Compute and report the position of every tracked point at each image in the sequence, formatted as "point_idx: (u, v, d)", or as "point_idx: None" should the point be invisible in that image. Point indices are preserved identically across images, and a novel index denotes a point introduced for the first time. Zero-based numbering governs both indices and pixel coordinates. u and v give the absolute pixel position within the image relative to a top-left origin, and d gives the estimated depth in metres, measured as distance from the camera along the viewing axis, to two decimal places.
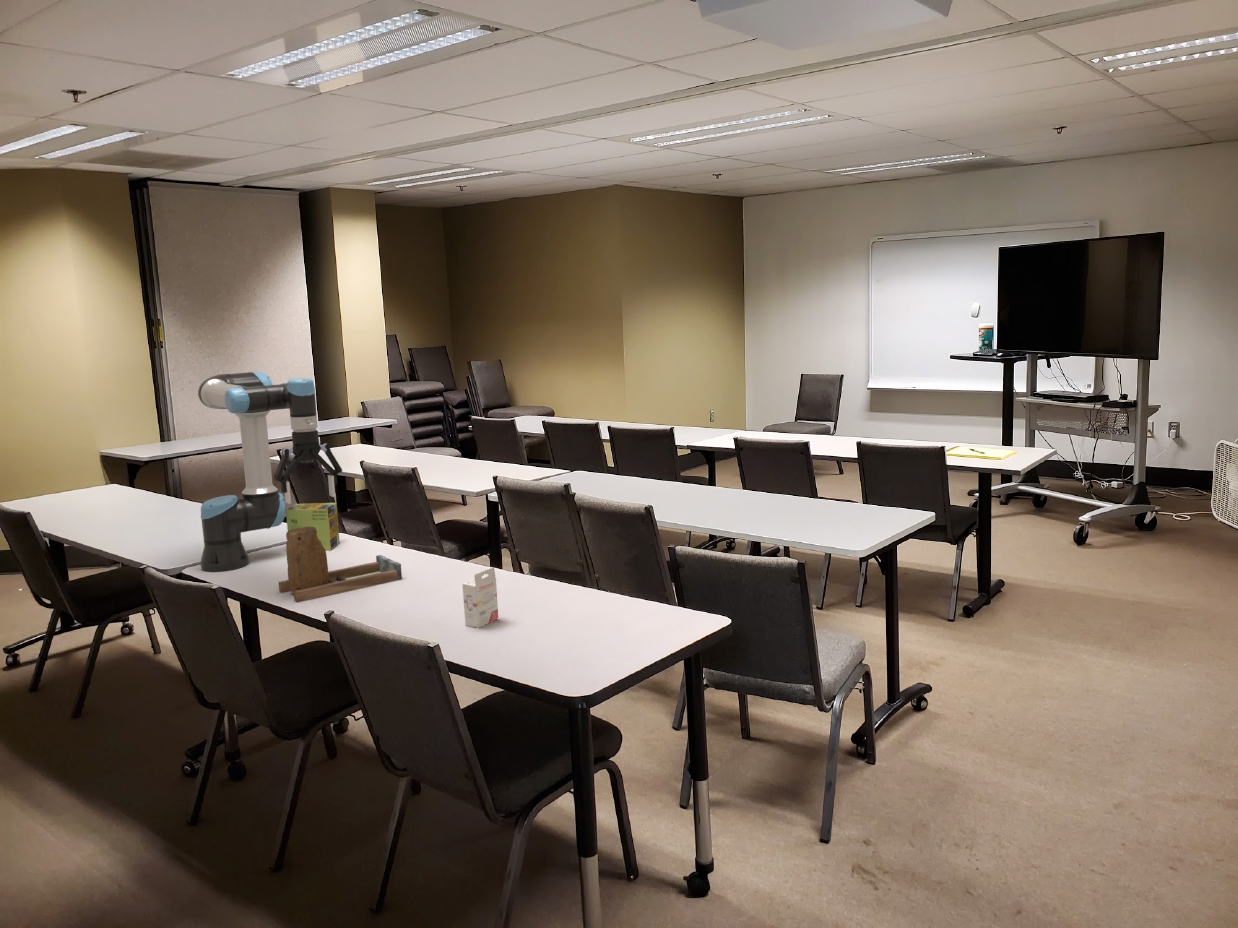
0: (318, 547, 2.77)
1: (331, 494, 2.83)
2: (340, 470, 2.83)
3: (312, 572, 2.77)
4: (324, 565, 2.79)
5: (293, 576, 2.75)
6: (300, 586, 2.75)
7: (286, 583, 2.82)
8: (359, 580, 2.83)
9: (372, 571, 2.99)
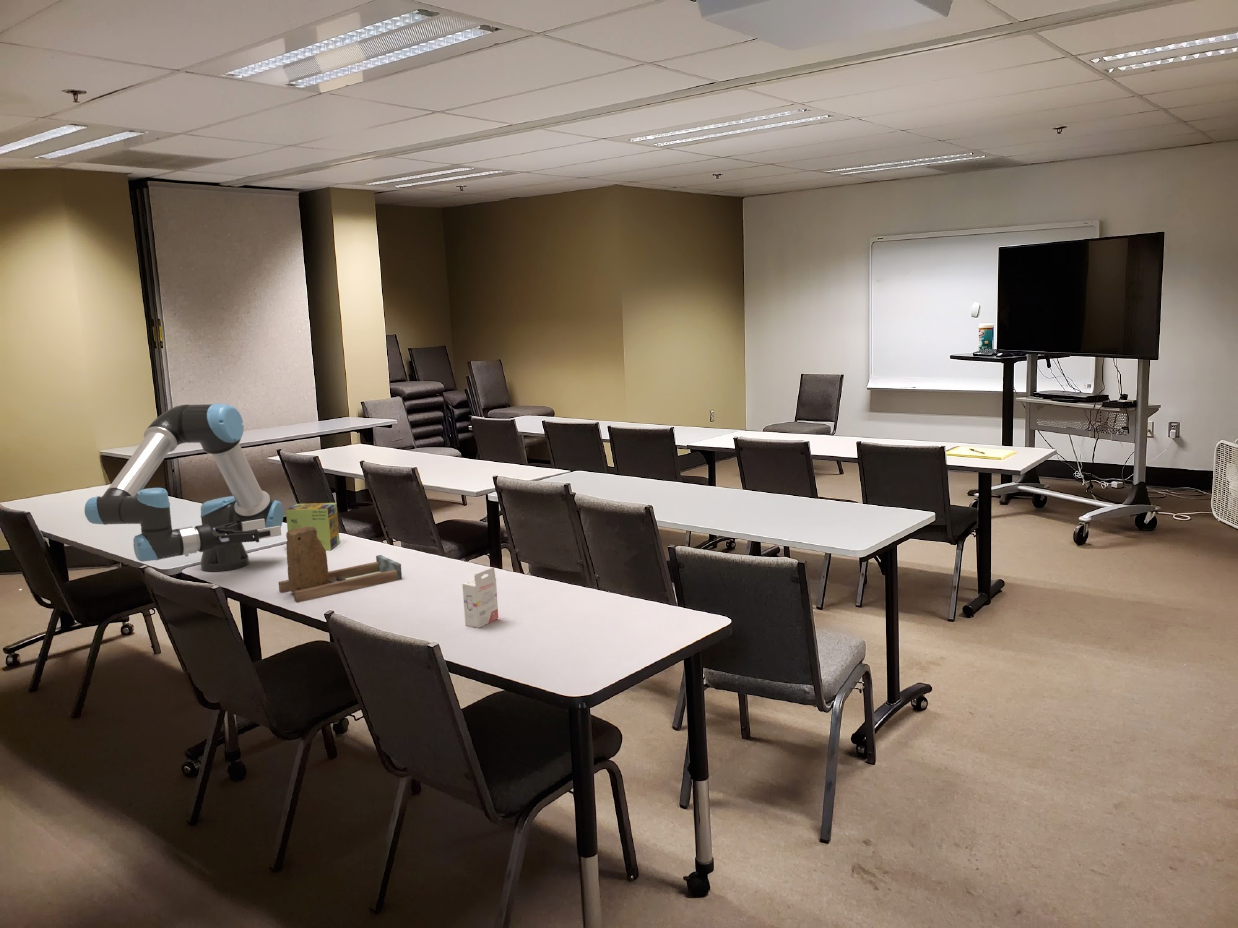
0: (318, 547, 2.77)
1: None
2: None
3: (312, 572, 2.77)
4: (324, 565, 2.79)
5: (293, 576, 2.75)
6: (300, 586, 2.75)
7: (286, 583, 2.82)
8: (359, 580, 2.83)
9: (372, 571, 2.99)
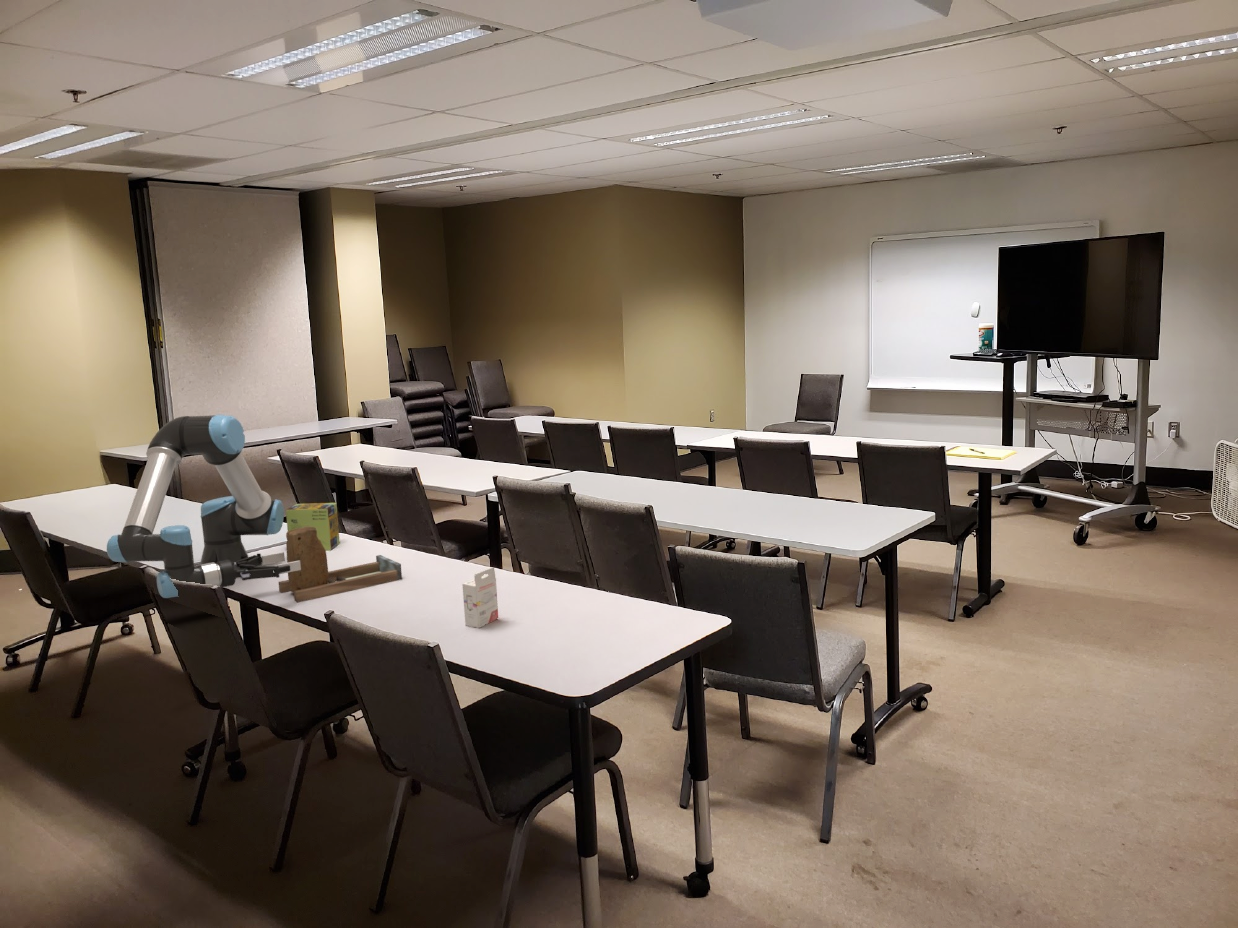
0: (318, 547, 2.77)
1: None
2: None
3: (312, 572, 2.77)
4: (324, 565, 2.79)
5: (293, 576, 2.75)
6: (300, 586, 2.75)
7: (286, 583, 2.82)
8: (359, 580, 2.83)
9: (372, 571, 2.99)
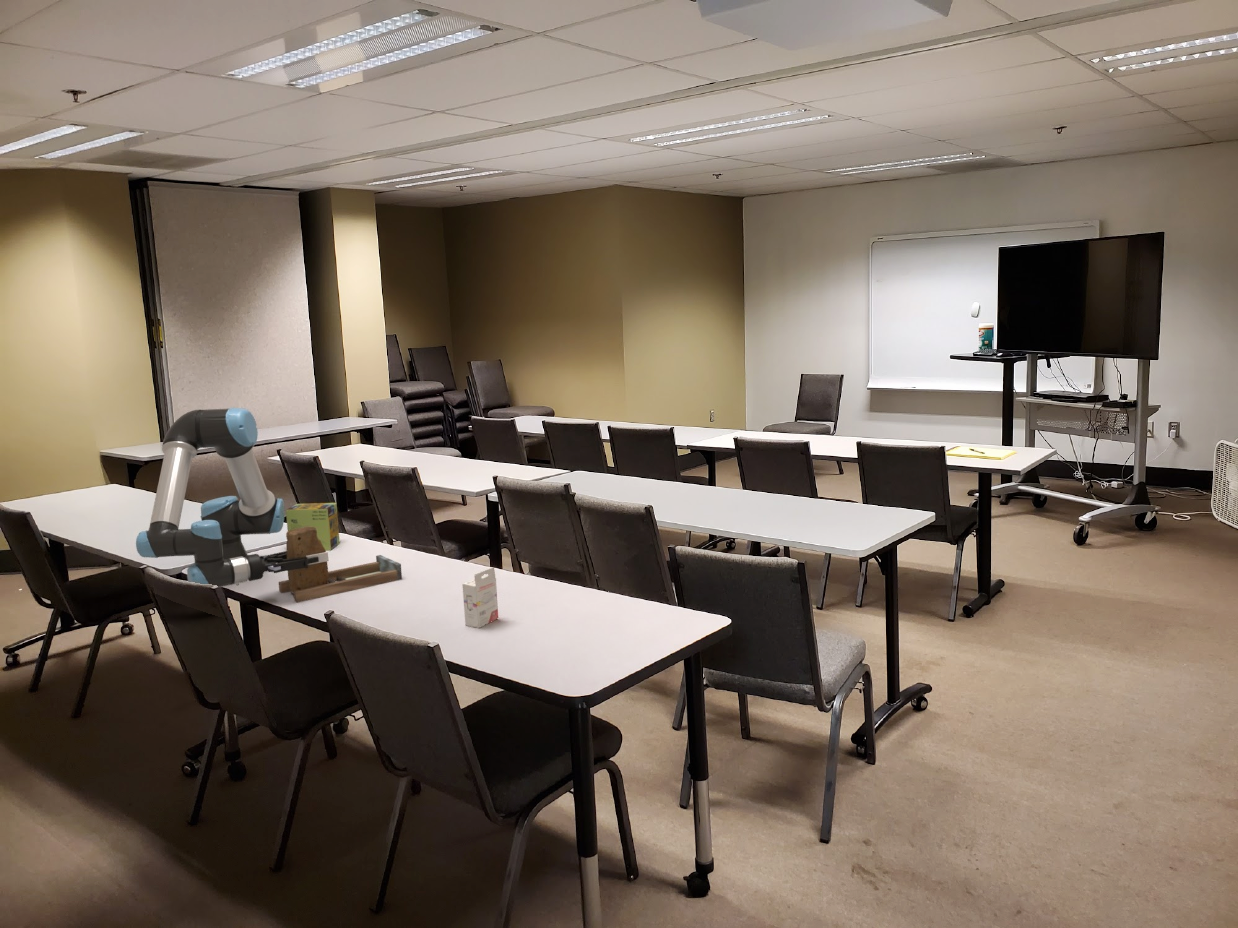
0: (318, 547, 2.77)
1: None
2: None
3: (312, 572, 2.77)
4: (324, 565, 2.79)
5: (293, 576, 2.75)
6: (300, 586, 2.75)
7: (286, 583, 2.82)
8: (359, 580, 2.83)
9: (372, 571, 2.99)
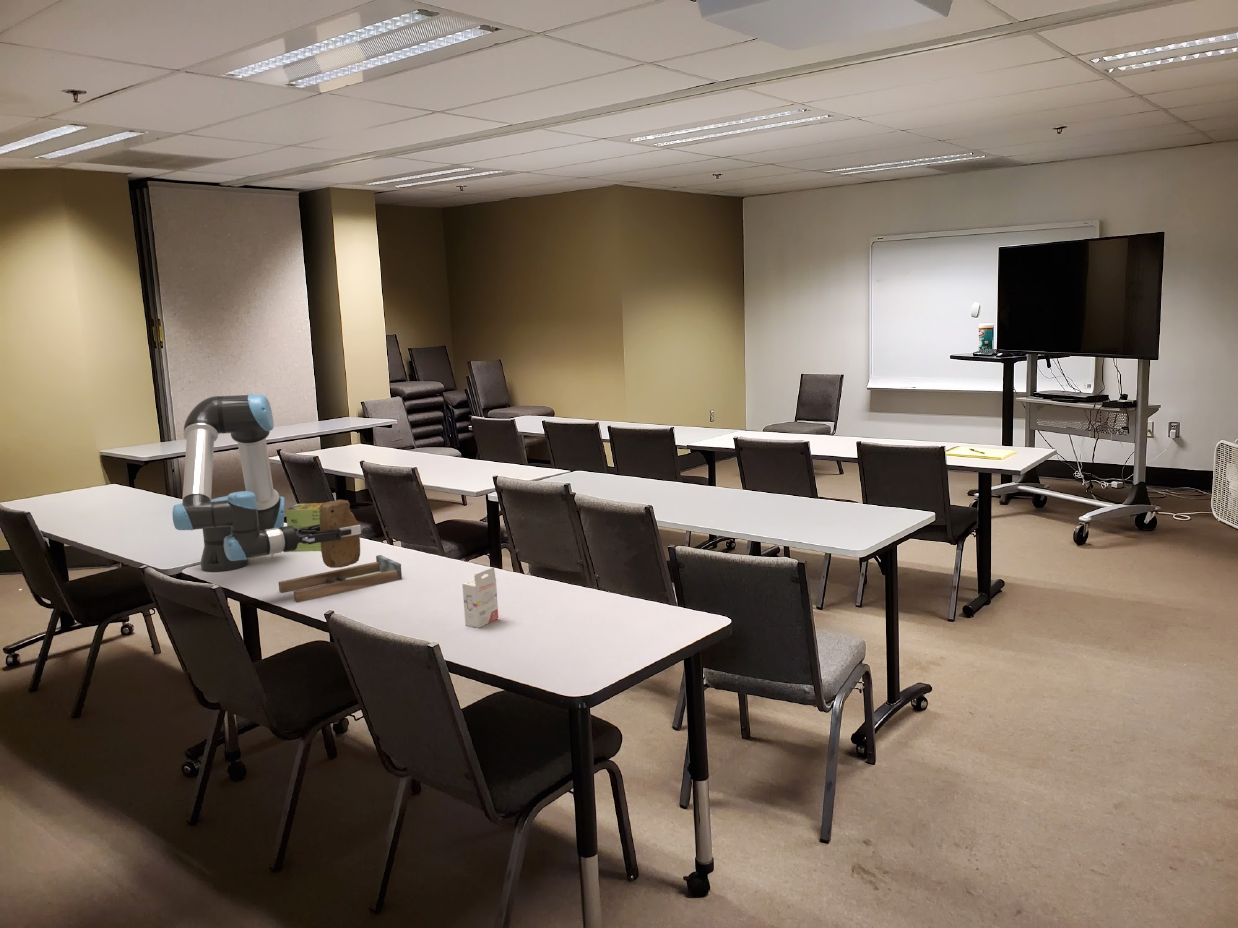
0: (350, 520, 2.82)
1: None
2: None
3: (345, 544, 2.81)
4: (356, 538, 2.84)
5: (326, 548, 2.79)
6: (333, 558, 2.79)
7: (286, 583, 2.82)
8: (359, 580, 2.83)
9: (372, 571, 2.99)
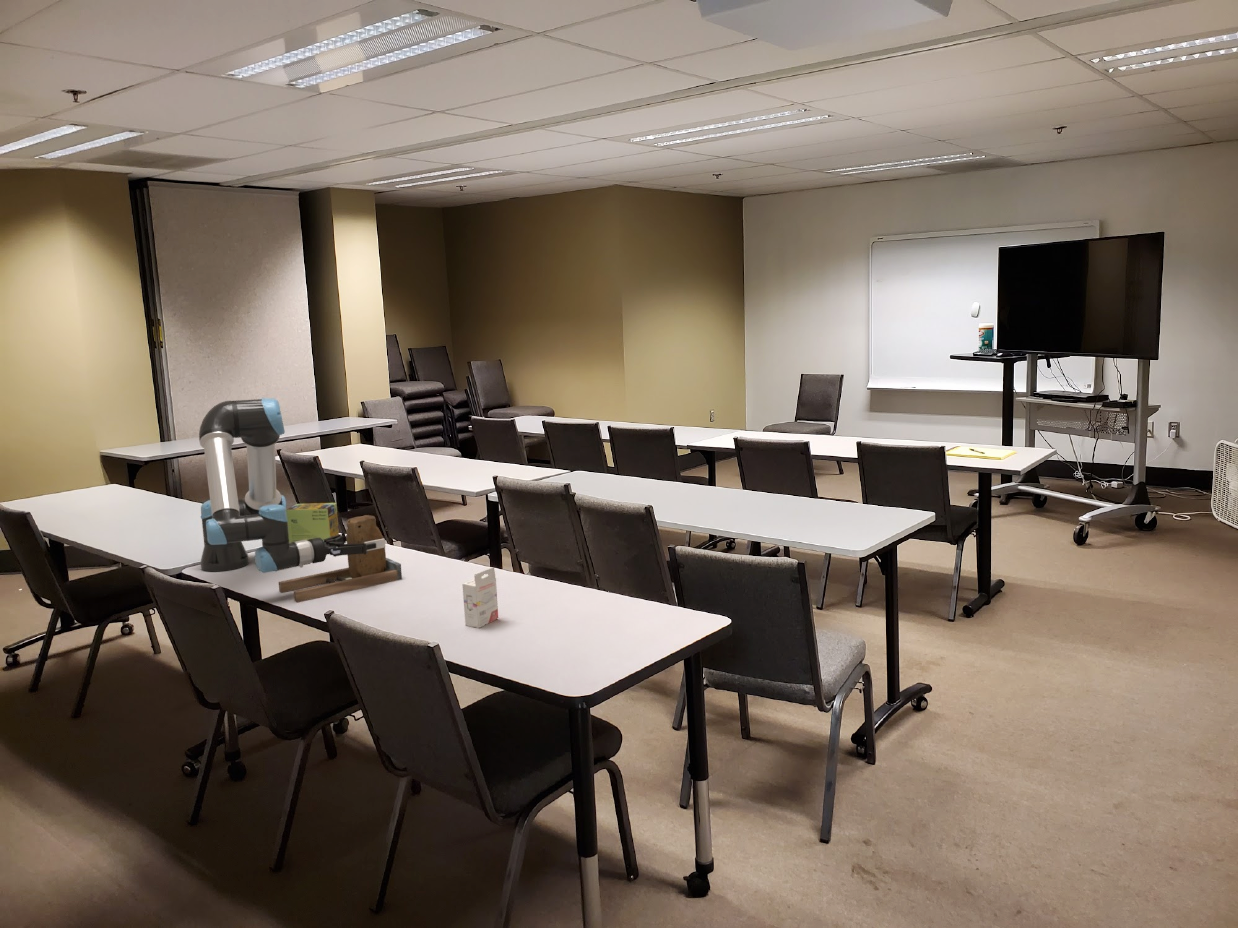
0: (376, 535, 2.89)
1: None
2: None
3: (371, 558, 2.89)
4: (382, 552, 2.91)
5: (354, 562, 2.87)
6: (360, 572, 2.87)
7: (286, 583, 2.82)
8: (359, 580, 2.83)
9: None
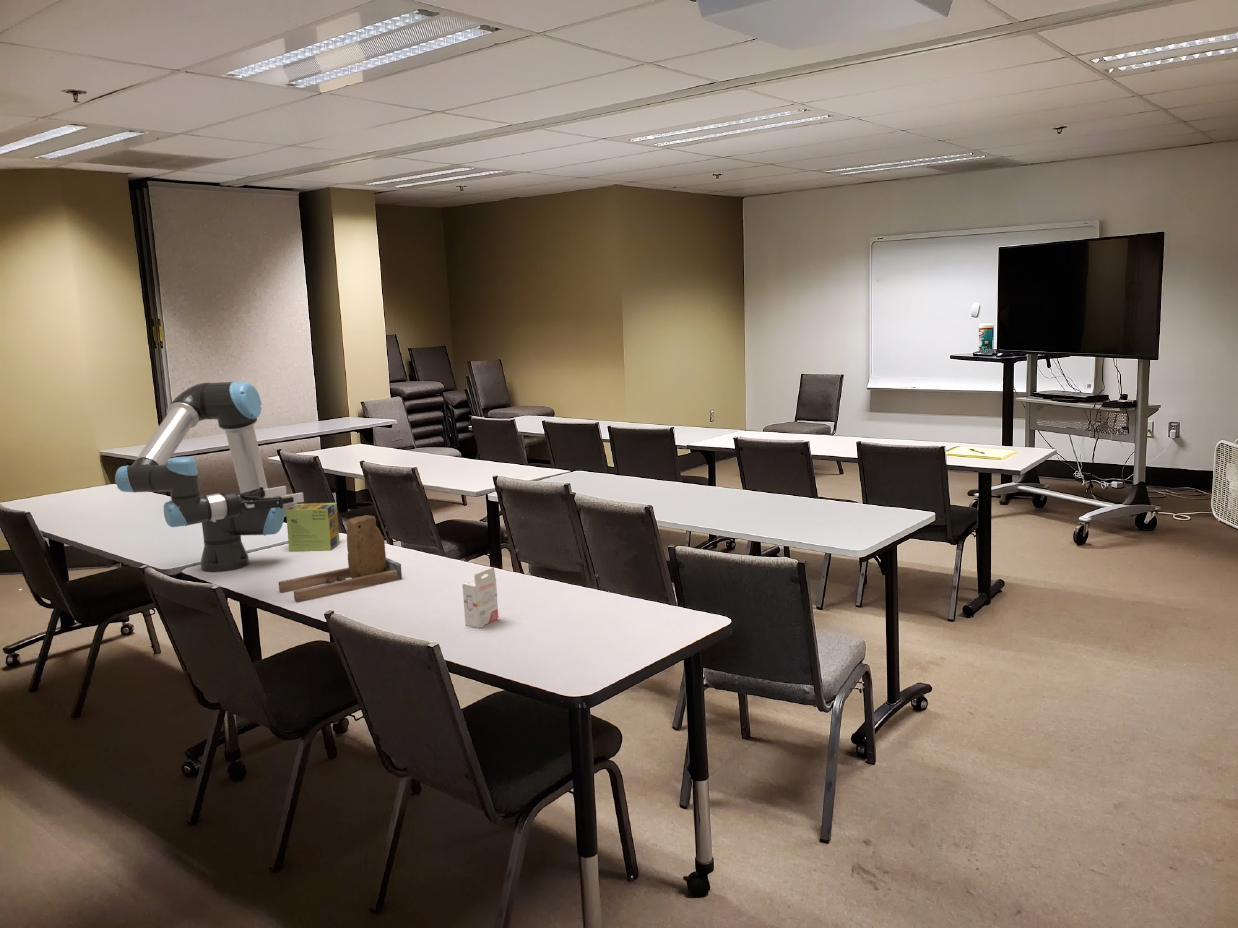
0: (376, 535, 2.89)
1: None
2: None
3: (371, 558, 2.89)
4: (382, 552, 2.91)
5: (354, 562, 2.87)
6: (360, 572, 2.87)
7: (286, 583, 2.82)
8: (359, 580, 2.83)
9: None
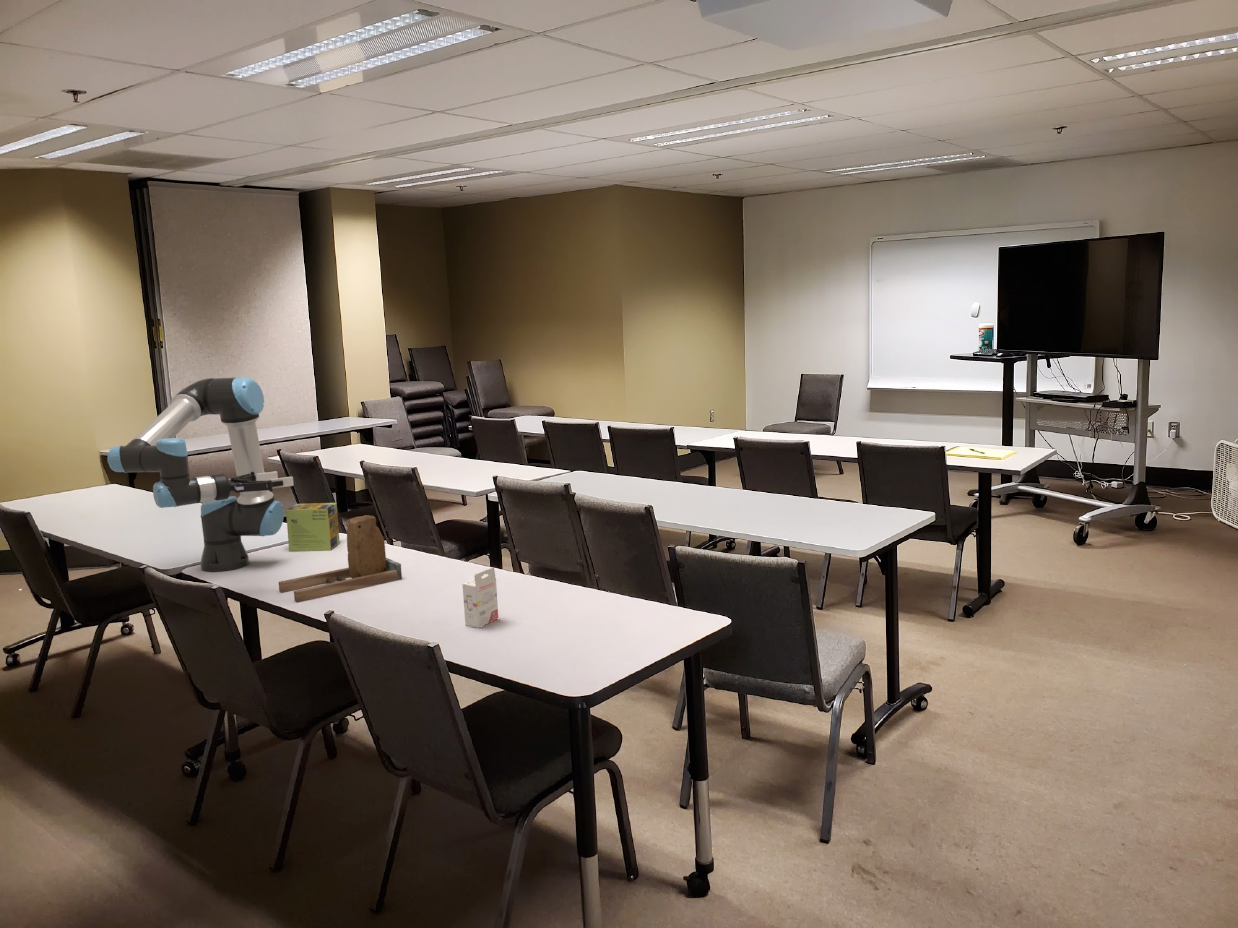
0: (376, 535, 2.89)
1: None
2: None
3: (371, 558, 2.89)
4: (382, 552, 2.91)
5: (354, 562, 2.87)
6: (360, 572, 2.87)
7: (286, 583, 2.82)
8: (359, 580, 2.83)
9: None
